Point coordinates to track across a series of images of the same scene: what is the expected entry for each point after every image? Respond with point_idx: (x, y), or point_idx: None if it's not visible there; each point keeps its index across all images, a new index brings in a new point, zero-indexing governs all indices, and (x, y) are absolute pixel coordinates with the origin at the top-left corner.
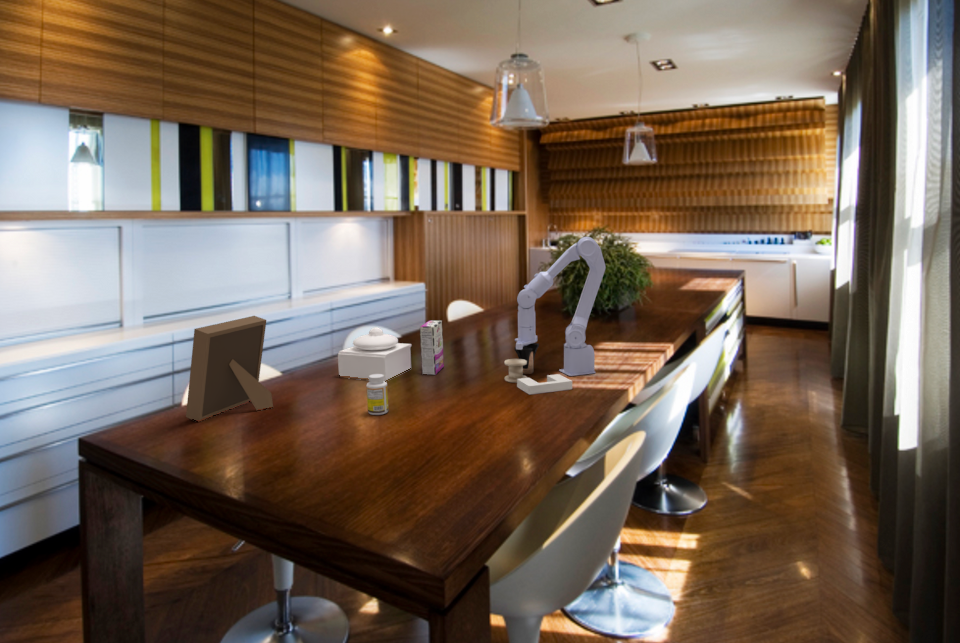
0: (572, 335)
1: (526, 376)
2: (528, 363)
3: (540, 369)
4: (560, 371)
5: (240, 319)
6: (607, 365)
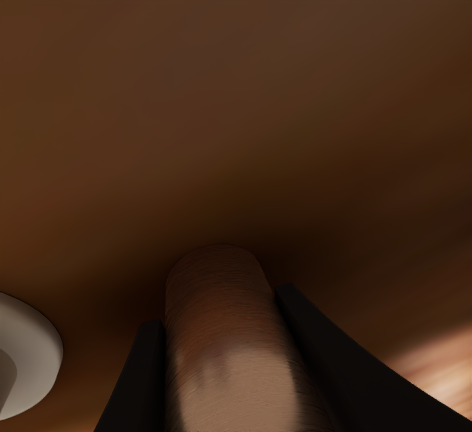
0: None
1: (43, 396)
2: None
3: (332, 294)
4: None
5: None
6: (459, 407)
